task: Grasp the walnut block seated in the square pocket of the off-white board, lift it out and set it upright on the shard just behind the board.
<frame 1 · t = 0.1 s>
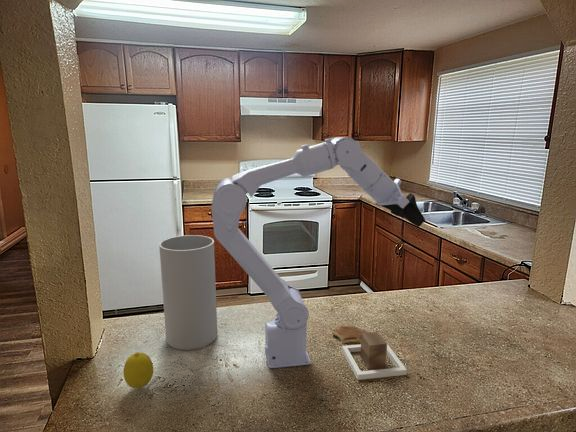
hand: (413, 218, 86), 32 cm above the countertop, tool tilted 50°, fingers open, 7 cm apart
shard: (354, 337, 98), on the countertop
cylinder vase: (192, 338, 96), on the countertop
walnut block: (373, 350, 86), in the pocket board
lemon: (140, 389, 77), on the countertop
pocket board: (372, 362, 87), on the countertop
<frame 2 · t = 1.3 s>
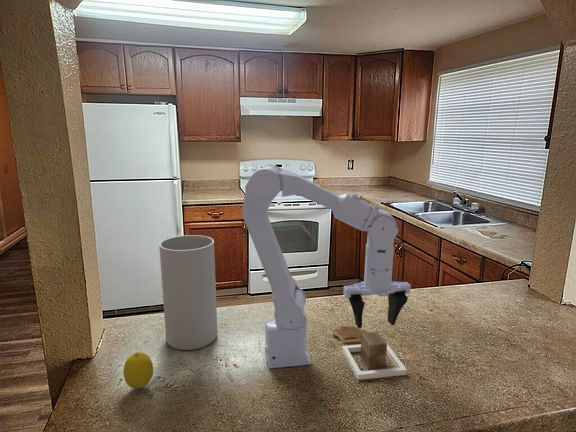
hand: (374, 324, 84), 9 cm above the countertop, tool pointing down, fingers open, 7 cm apart
nothing on the countertop moved.
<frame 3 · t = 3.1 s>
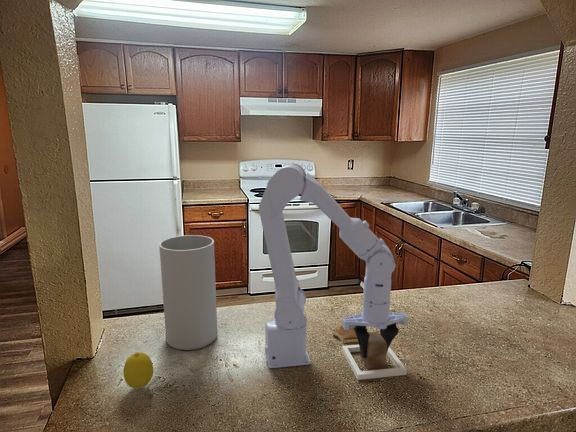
hand: (373, 354, 86), 2 cm above the countertop, tool pointing down, fingers closed on walnut block, 4 cm apart
walnut block: (373, 350, 86), in the pocket board, touching gripper
everything else where it was.
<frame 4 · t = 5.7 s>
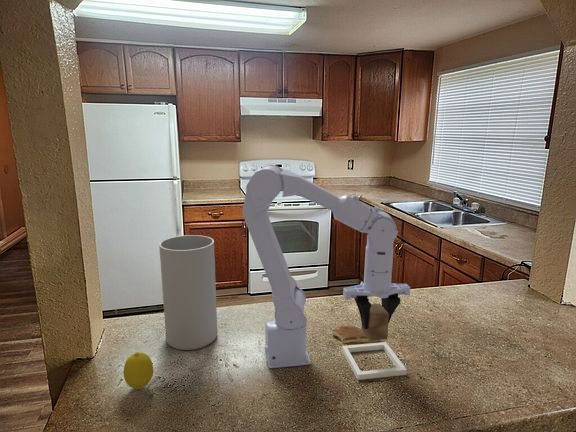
hand: (374, 326, 85), 9 cm above the countertop, tool pointing down, fingers closed on walnut block, 4 cm apart
walnut block: (374, 321, 84), point 10 cm above the countertop, touching gripper
everything else where it was.
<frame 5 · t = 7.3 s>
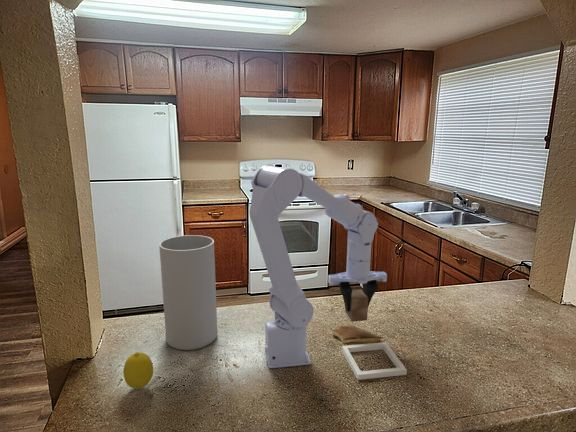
hand: (356, 309, 96), 7 cm above the countertop, tool pointing down, fingers closed on walnut block, 4 cm apart
walnut block: (356, 305, 96), point 8 cm above the countertop, touching gripper
everything else where it was.
when the fingers open (5 cm above the countertop, at t = 8.6 s): walnut block drops 2 cm, resting on shard.
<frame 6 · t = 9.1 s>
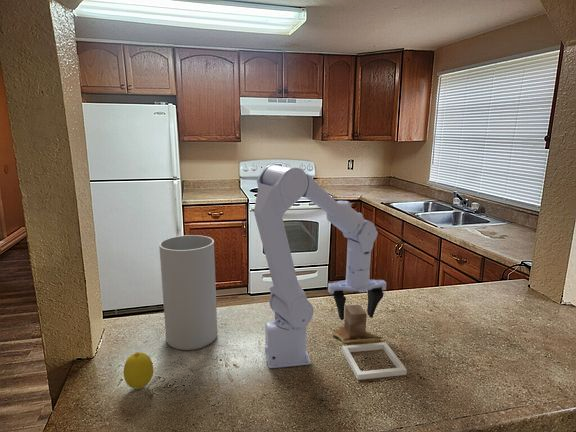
hand: (355, 317, 97), 5 cm above the countertop, tool pointing down, fingers open, 7 cm apart
shard: (354, 337, 98), on the countertop, touching walnut block
walnut block: (355, 320, 97), point 4 cm above the countertop, touching shard
everything else where it was.
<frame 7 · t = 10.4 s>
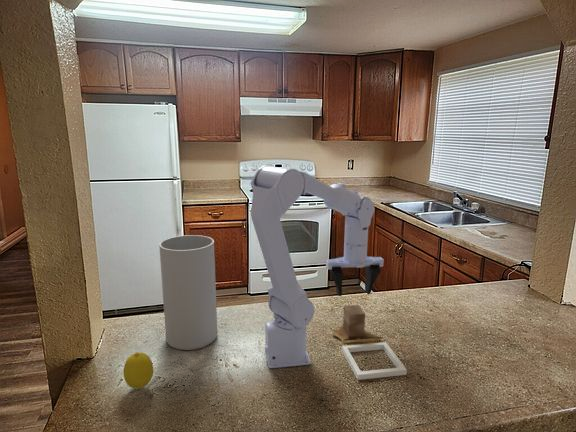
hand: (353, 293, 98), 10 cm above the countertop, tool pointing down, fingers open, 7 cm apart
nothing on the countertop moved.
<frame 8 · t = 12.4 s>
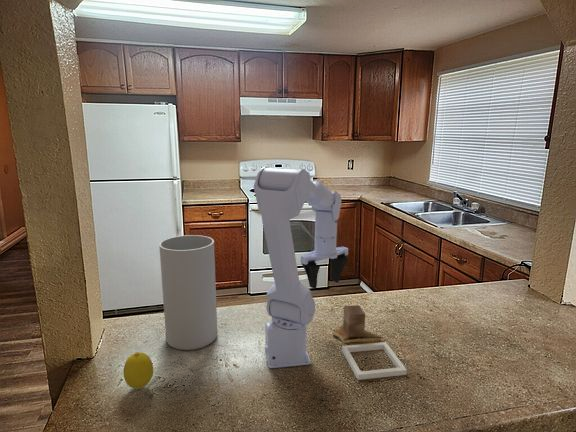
hand: (324, 284, 103), 10 cm above the countertop, tool pointing down, fingers open, 7 cm apart
nothing on the countertop moved.
at the end: walnut block inside the target area on the shard (1.3 cm from its centre), point 5.0 cm above the shard's base; walnut block tilted 0°; the gripper is holding nothing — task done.
